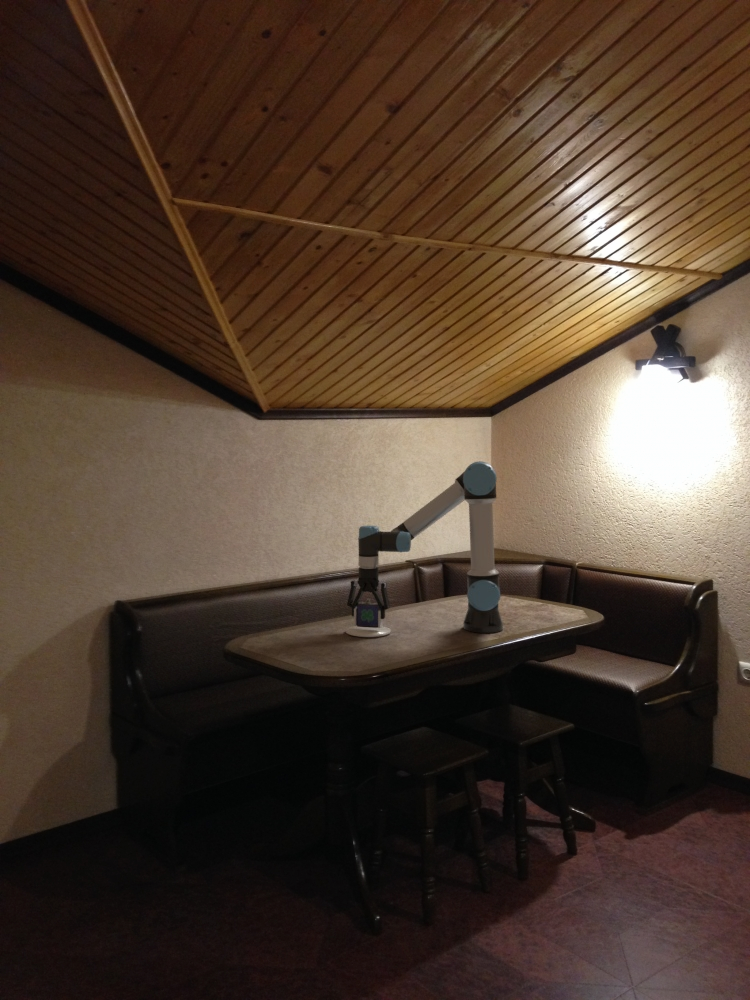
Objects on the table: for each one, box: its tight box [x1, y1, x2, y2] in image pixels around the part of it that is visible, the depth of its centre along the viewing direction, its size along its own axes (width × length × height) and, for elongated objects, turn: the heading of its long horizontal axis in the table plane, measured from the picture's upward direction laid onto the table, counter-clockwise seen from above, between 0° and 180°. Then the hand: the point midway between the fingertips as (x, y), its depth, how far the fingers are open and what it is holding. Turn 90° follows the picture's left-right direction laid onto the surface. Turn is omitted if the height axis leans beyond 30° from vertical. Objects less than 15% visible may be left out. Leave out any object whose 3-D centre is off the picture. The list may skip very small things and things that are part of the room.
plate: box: [345, 625, 392, 638], centre depth 310 cm, size 17×17×1 cm
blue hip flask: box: [356, 598, 380, 628], centre depth 310 cm, size 9×3×11 cm, turn 74°
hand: (368, 626), depth 310 cm, fingers closed on blue hip flask, 9 cm apart
